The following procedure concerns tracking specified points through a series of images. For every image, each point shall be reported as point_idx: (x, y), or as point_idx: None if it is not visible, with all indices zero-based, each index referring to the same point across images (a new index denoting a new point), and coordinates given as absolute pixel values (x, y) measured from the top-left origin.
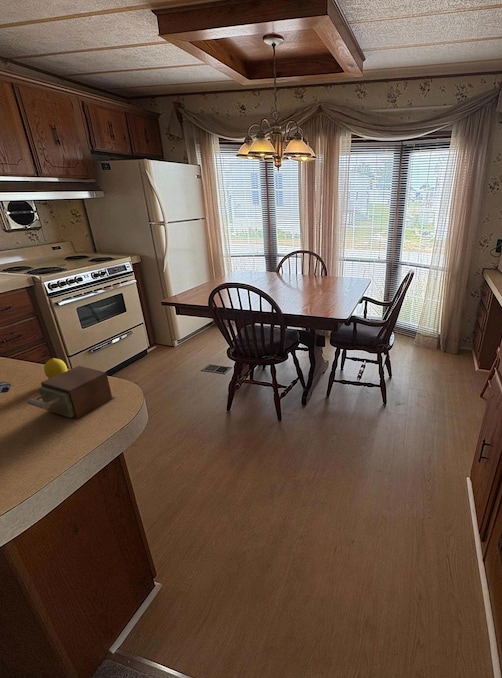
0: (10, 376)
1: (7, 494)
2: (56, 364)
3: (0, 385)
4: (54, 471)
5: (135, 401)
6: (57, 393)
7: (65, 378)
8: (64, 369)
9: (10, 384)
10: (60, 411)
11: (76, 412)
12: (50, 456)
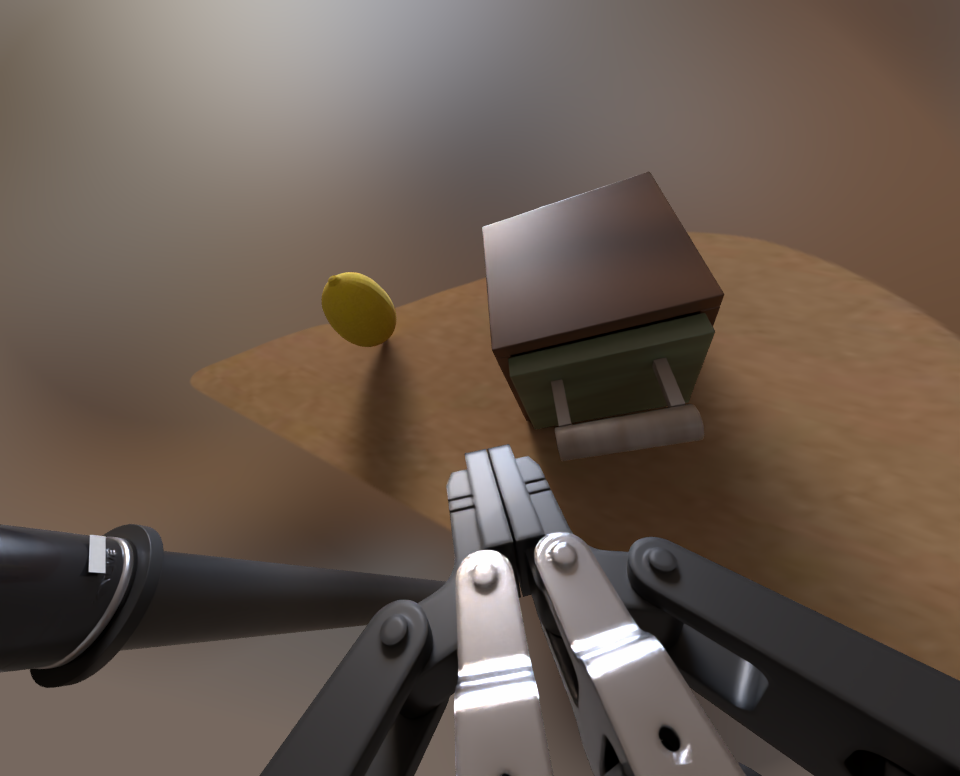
0: (241, 405)
1: None
2: (363, 288)
3: (531, 507)
4: None
5: (735, 241)
6: (657, 343)
7: (553, 278)
8: (386, 294)
9: (509, 447)
10: (631, 405)
11: None
12: None
